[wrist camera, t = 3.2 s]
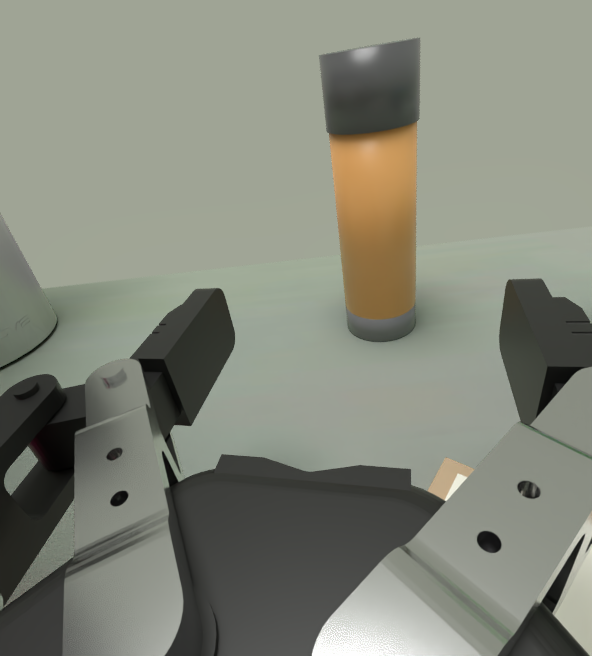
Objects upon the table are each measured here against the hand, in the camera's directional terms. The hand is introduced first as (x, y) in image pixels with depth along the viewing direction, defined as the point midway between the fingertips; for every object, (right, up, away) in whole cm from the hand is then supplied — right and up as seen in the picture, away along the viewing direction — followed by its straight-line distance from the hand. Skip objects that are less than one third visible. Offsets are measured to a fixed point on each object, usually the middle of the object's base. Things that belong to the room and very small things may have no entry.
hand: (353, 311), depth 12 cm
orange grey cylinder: (+3, 0, +13) cm, 14 cm away
